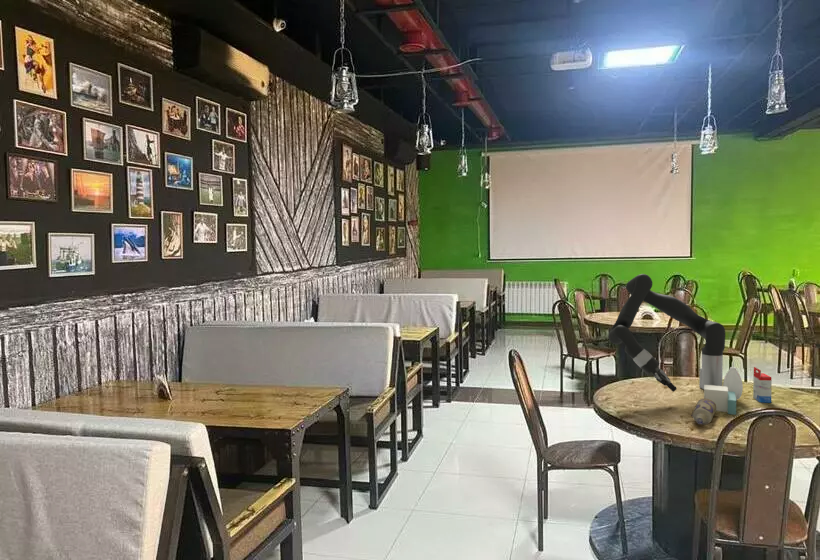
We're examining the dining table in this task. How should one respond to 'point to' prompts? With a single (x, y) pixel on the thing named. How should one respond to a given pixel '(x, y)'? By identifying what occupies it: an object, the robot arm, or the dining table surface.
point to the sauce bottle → (733, 382)
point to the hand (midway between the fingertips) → (675, 390)
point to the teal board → (731, 403)
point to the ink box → (761, 386)
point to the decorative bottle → (704, 411)
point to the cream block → (717, 396)
